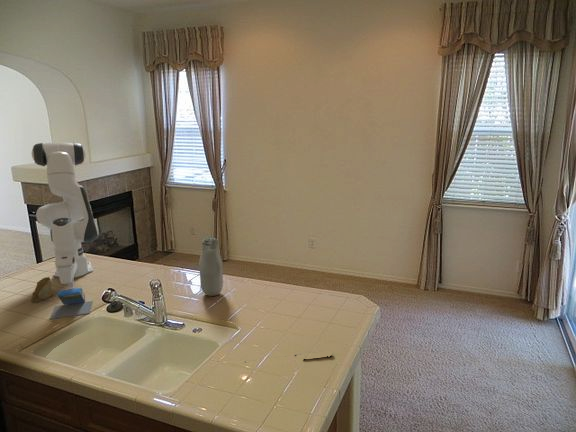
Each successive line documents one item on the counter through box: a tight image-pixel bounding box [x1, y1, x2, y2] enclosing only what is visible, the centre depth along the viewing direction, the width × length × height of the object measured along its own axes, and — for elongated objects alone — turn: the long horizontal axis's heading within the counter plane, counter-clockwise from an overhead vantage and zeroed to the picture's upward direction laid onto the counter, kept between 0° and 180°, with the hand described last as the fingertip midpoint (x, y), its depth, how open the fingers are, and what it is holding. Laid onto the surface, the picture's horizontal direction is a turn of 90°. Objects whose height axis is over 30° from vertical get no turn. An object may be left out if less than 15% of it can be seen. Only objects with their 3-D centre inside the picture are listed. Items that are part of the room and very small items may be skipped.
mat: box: [49, 300, 94, 320], centre depth 178 cm, size 12×15×1 cm
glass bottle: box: [198, 236, 224, 297], centre depth 189 cm, size 10×10×28 cm
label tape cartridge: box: [56, 287, 86, 305], centre depth 180 cm, size 9×4×12 cm
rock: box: [30, 276, 54, 303], centre depth 189 cm, size 11×9×10 cm
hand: (71, 285), depth 180 cm, fingers closed
